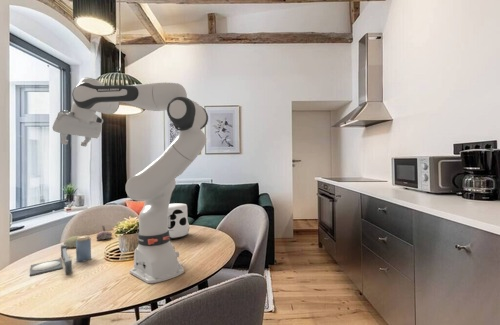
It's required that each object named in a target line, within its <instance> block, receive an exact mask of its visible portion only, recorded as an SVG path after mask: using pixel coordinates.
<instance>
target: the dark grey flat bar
mask: <svg viewBox="0 0 500 325" xmlns="http://www.w3.org/2000/svg"><path fill="white" fill-rule="evenodd" d="M60 254H61V255H60V256H61V258H62V261H63V263H64V264H63V265H64V271H65V272H64V274H65V275H66V276H67V275H71V274H73V264H72V263H73V262H72V259H71V258H69V253H68V247H67V245H64V244H61V245H60Z"/></svg>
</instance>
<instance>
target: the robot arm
mask: <svg viewBox="0 0 500 325" xmlns="http://www.w3.org/2000/svg"><path fill="white" fill-rule="evenodd" d="M187 94H188V93H187V91H186V88H185V87H184V86H183V85H182V84H181V83H176V82H155V83H154V82H153V83H145V84H144V83H143V84H126V85H125V84H123V85H122V84H119V85H118V84H114V85H113V84H112V85H104V84H103V82H102V81H100V80H98V79H95V78H92V77H82V78H81V79H80V81H79V83H78V84H77V85H76V86H75V87H74V88H73V90H72V99H73V102H72V105H71V109H70V111H68V110H60V111H59V112H58V113H57V116H56V118H55V119H54V122H53V125H52V130H53V132H56V133H59V135H60V138H61V141H60V144H61V145H68V143H69V140H68V139H67V137H68V135H70V136H71V135H72V136H76V137H77V136H78V137H84V140H83V141H81V143H80V146H81V147H87V146H88V143H89V142H90V141H91V140H92V139H98V138H99V137H100V136H101V132H102V127H103V126H102V125H103V123H104V119H103V118H102V117H100V116H98V114H97V112H98V113H101V114H106V115H113V114H114V113H116V112H117V111H118V109H119V107H120V104H121V103H124V104H127V105H131V106H134V107H136V108H140V109H143V110H146V111H153V112H161V111H166V113H167V116H168V118H169V119H170V122H171V123H172V124H173V126H174V128H175V130H177V131H179V133H178V135H177V136H176V137H175V139H173V141H172V142H171V143H170V144H169V146H167V148H166V149H165V150H164V151H162V153H161V154H160V155H159V156H158V157H157V158H156V159H154V161H152V162H151V163H149V164H148V165H147V166H145V168H143V169H142V170H141V171H139V172H138V173H136V174H134V175H133V176H130V177H129V178H128V179H127V181H126V183H125V192H126V194H127V197H128V198H130V199H131V200H133V201H137V202H138V201H139V202H144V204H143V207H142V209H141V210H140V212H139V214H138V235H137V242H138V243H137V244H138V245H137V247H136V248H135V249H134V252H133V253H134V254H133V255H134V256H133V267H132V268H130V270H129V273H130V275H132V276H134V277H137V278H138V279H140V280H141V281H144V282H145V283H147V284H155V283H160V282H164V281H168V280H171V279H173V278H175V277H179V276H180V275H182V274H184V273H185V269H184V267H183V265H182V264H181V263H180V261H179V260H178V258H180V252H179V251H178V250H177V251H175V248H176V247H175V245H174V246H173V244H172V242H171V239H170V234H169V230H168V208H169V204H171V203H170V202H171V198H172V195H173V192H174V190H175V188H176V178H177V177H179V176H181V175H182V174H183V173H184V172H185V171H186V169H188V167H190V165H191V164H192V163H193V162H195V160H196V158H197V157H198V156H199V155H200V153H201V152H202V150H203V149H204V147H205V146H206V144H207V140H208V139H207V137H206V134H205V133H204V131H203V129H204V128H205V127H206V126H207V125H208V122H209V115H208V112H207V111H206V109H205V108H204V107H202V106H201V105H200V104H199V103H198V102H196V101H194V100H192V99H190V98H188V96H187Z"/></svg>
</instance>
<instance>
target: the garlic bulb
mask: <svg viewBox="0 0 500 325" xmlns="http://www.w3.org/2000/svg"><path fill="white" fill-rule="evenodd" d="M112 237H113V233H112V232H111V231H110V230H109V231H108V230H106V228H105V225H104V224H103V225H102V231H100V232H98V233H97V234H96V240H98V241H101V240H107V239H111V238H112Z"/></svg>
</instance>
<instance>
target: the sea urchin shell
mask: <svg viewBox="0 0 500 325" xmlns="http://www.w3.org/2000/svg"><path fill="white" fill-rule="evenodd" d="M80 236H81V235H73V236H69V237H68V238H66V239H65V240H64V242H63V245H67V249H68V248H73V249H74V248H76V240H77V237H80Z"/></svg>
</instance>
